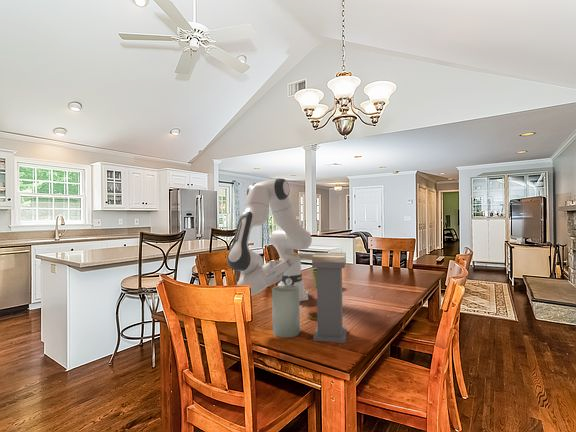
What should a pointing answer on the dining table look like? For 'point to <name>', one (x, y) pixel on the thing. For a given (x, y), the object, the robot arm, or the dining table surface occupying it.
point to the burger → (312, 313)
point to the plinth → (329, 303)
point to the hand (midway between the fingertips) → (301, 255)
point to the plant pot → (315, 276)
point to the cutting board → (319, 257)
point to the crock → (285, 311)
